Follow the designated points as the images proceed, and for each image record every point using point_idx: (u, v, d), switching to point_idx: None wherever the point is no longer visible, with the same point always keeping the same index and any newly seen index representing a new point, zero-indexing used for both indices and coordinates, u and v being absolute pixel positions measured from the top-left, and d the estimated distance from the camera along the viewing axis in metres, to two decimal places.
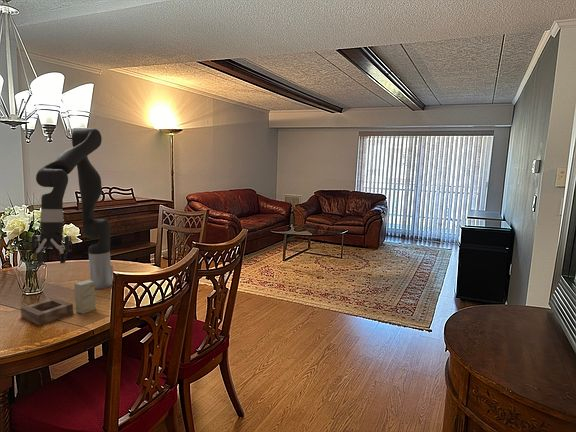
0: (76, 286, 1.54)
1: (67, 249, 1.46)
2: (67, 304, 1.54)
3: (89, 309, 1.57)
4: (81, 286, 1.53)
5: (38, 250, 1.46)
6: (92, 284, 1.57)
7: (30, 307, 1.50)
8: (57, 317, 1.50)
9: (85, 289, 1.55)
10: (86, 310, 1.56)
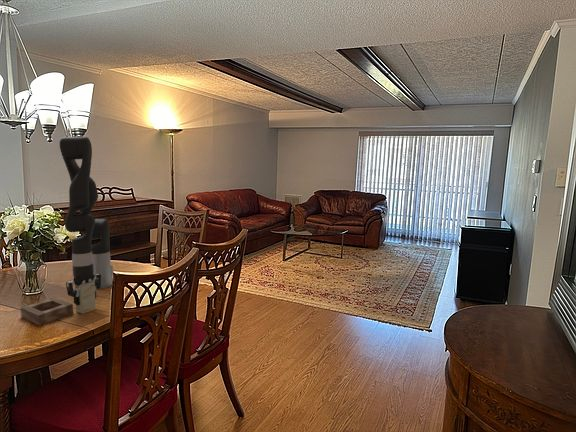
0: (76, 286, 1.54)
1: (99, 286, 1.61)
2: (67, 304, 1.54)
3: (89, 309, 1.57)
4: (81, 286, 1.53)
5: (78, 294, 1.53)
6: (92, 284, 1.57)
7: (30, 307, 1.50)
8: (57, 317, 1.50)
9: (85, 289, 1.55)
10: (86, 310, 1.56)
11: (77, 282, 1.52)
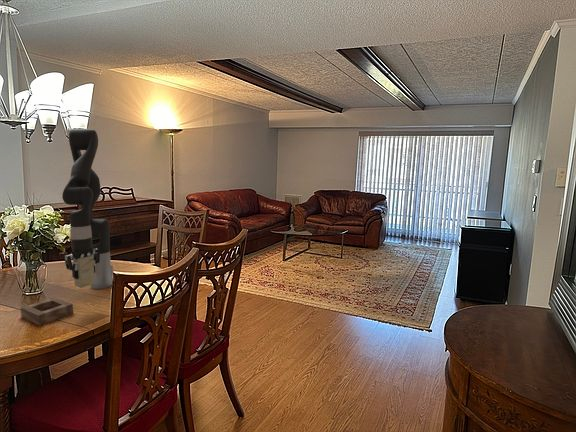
0: (75, 260, 1.52)
1: (98, 260, 1.59)
2: (67, 304, 1.54)
3: (88, 283, 1.55)
4: (80, 260, 1.51)
5: (77, 267, 1.52)
6: (91, 258, 1.56)
7: (30, 307, 1.50)
8: (57, 317, 1.50)
9: (84, 263, 1.53)
10: (85, 284, 1.54)
11: (76, 255, 1.51)
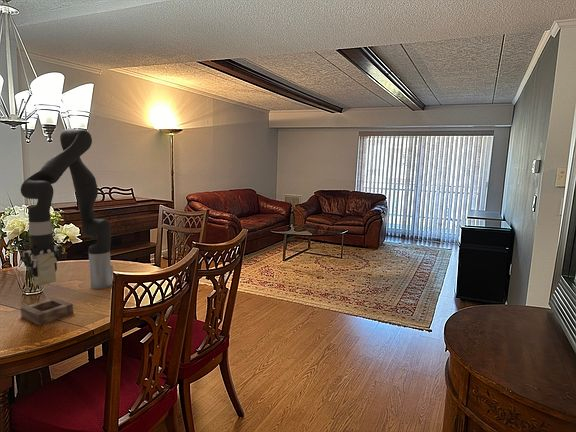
0: (34, 257, 1.47)
1: (60, 257, 1.54)
2: (67, 304, 1.54)
3: (48, 281, 1.49)
4: (39, 256, 1.46)
5: (35, 264, 1.46)
6: (51, 255, 1.50)
7: (30, 307, 1.50)
8: (57, 317, 1.50)
9: (43, 260, 1.47)
10: (45, 282, 1.48)
11: (34, 252, 1.45)
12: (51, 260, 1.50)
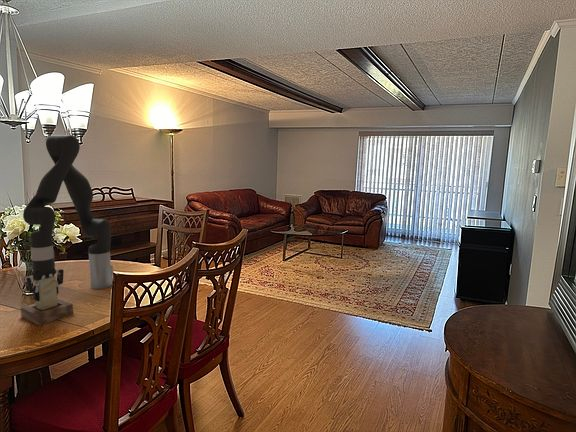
0: (36, 281, 1.48)
1: (62, 281, 1.55)
2: (67, 304, 1.54)
3: (50, 305, 1.51)
4: (41, 281, 1.47)
5: (37, 289, 1.47)
6: (53, 279, 1.51)
7: (30, 307, 1.50)
8: (57, 317, 1.50)
9: (45, 284, 1.49)
10: (47, 306, 1.50)
11: (36, 277, 1.47)
12: (53, 284, 1.51)
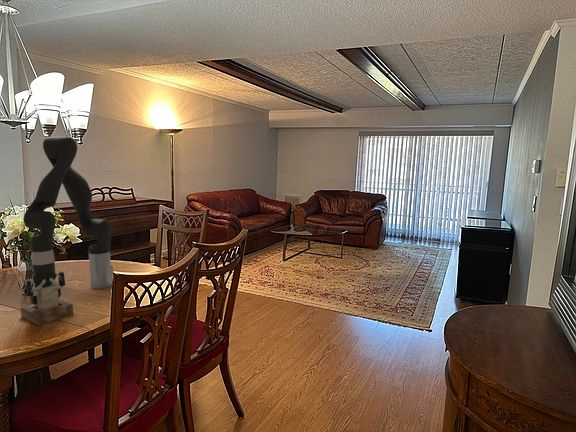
0: None
1: (64, 283, 1.56)
2: (67, 304, 1.54)
3: None
4: (42, 290, 1.48)
5: (35, 293, 1.47)
6: (55, 288, 1.52)
7: (30, 307, 1.50)
8: (57, 317, 1.50)
9: (47, 293, 1.50)
10: None
11: (37, 280, 1.47)
12: (55, 293, 1.52)
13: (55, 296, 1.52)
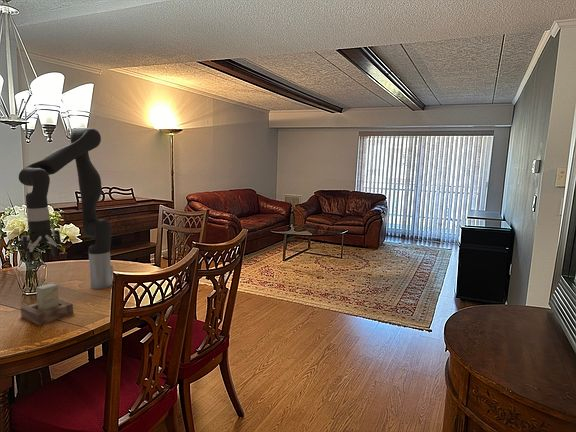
0: (38, 290, 1.49)
1: (60, 241, 1.59)
2: (67, 304, 1.54)
3: None
4: (42, 290, 1.48)
5: (32, 249, 1.49)
6: (55, 288, 1.52)
7: (30, 307, 1.50)
8: (57, 317, 1.50)
9: (47, 293, 1.50)
10: None
11: (33, 237, 1.49)
12: (55, 293, 1.52)
13: (55, 296, 1.52)
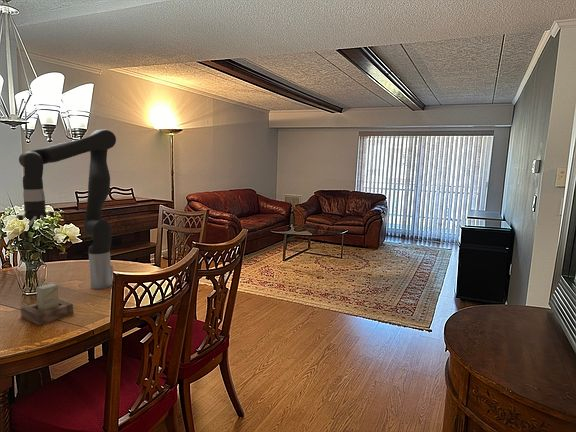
0: (38, 290, 1.49)
1: None
2: (67, 304, 1.54)
3: None
4: (42, 290, 1.48)
5: None
6: (55, 288, 1.52)
7: (30, 307, 1.50)
8: (57, 317, 1.50)
9: (47, 293, 1.50)
10: None
11: (28, 216, 1.59)
12: (55, 293, 1.52)
13: (55, 296, 1.52)
